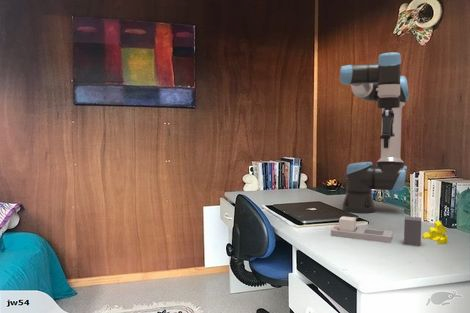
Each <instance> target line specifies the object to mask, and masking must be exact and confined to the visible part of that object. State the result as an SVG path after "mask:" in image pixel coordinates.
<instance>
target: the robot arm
mask: <svg viewBox="0 0 470 313" xmlns="http://www.w3.org/2000/svg"><path fill="white" fill-rule="evenodd" d="M377 61H378V63H366V64H365V63H364V64H347V65H342V66H340V70H339V82H340V83H341V85H347V86H349V85H350V87H351V91H352V93H353V95H354V96H356V97H357V98H359V100H360V99H361V100H364V101H366V102H367V101H368V102H377V108H378V109H381V110H382V111H381V134H380V136H379V139H380V141H381V142H380V158H379V159H378V160H377V161H376V164H373V162H372V161H361V162H359V161H358V162H354V163H349V164H348V165H347V167H346V173H345V174H346V187H345V188H346V190H345V191H346V192H345V196H344V199H343V202H342V206H341V207H342V210H343V211H345V212H349V213H356V214H357V213H359V214H368V213H369V214H370V213H374V212H375V211H376V205H375V202H374V201H375V200H374V198H373V195H372V192H373V191H372V190H378V191H380V190H381V191H392V192H393V191H399V192H400V191H402V190H404V188H405V182H406V177H407V176H406V175H407V171H408V170H407V169H408V166H407V165H404V163H405V162H404V160H403V159H401V158H402V157H401V145H402V140H401V139H402V110H403V107H404V106H405V105H406V102H407V101H409V99H410V96H409V86H408V80H407V77H406V76H405V75H401V72H402V69H401V68H402V56H401V54H400V53H399V52H384V53H381V54H379V55H378V60H377Z"/></svg>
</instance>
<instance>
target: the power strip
mask: <svg viewBox="0 0 470 313" xmlns="http://www.w3.org/2000/svg"><path fill="white" fill-rule="evenodd" d="M330 236H331V237H338V238H346V239H352V240H353V239H354V240H362V241H371V242H377V243H386V244H387V243H388V244H391V243H392V241H393V237H394V231H392V230H385V229H384V230H383V229H375V228H374V229H373V228H364V227H356V231H355V232H347V231H339V224H338V225H337V224H336V225H335V226H333V228H332V229H331V230H330Z"/></svg>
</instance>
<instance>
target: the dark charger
mask: <svg viewBox="0 0 470 313" xmlns="http://www.w3.org/2000/svg"><path fill="white" fill-rule="evenodd" d="M422 219H423V218H422V217H419V216H408V215H407V216H406V215H405V217H404V230H403V245H407V246H415V247H421V246H422V242H421V241H422Z"/></svg>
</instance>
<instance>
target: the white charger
mask: <svg viewBox="0 0 470 313" xmlns="http://www.w3.org/2000/svg"><path fill="white" fill-rule="evenodd" d="M338 220H339V221H338V226H339V231H347V232H355V231H356V226H357V217H351V216H341V217H340V218H339V219H338Z"/></svg>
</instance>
